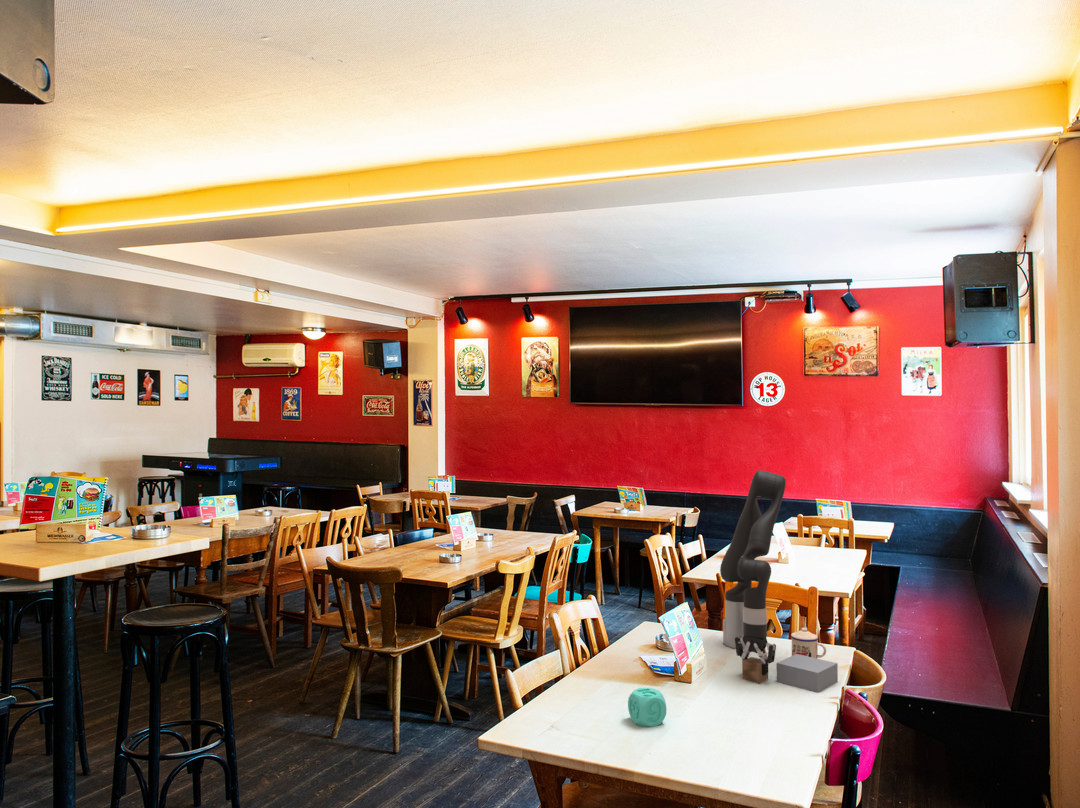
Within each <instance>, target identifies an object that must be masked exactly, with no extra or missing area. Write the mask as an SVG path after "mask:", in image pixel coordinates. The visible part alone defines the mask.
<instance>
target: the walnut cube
mask: <svg viewBox="0 0 1080 808" xmlns="http://www.w3.org/2000/svg"><path fill="white" fill-rule="evenodd" d="M741 663H742V664H741V667H742V668H741V670H742V671H741V672H742V673H741V676H742V677H741V678H742V679H741V680H744V681H748V682H752V683H756V684H762V683H763V682H766V681H767V680H769V672H768V673H767V675H765V676H764V675H762V664H763V663H762V661H761V658H757V657H754V656H750V657H748V658H747V659H745V660H743V661H741Z"/></svg>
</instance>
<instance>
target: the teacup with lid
mask: <svg viewBox="0 0 1080 808" xmlns="http://www.w3.org/2000/svg"><path fill="white" fill-rule="evenodd" d="M800 629H801V630H798V631H795V632H792V633H791V634H790V638H791V656H793V655H795V654H799V655H804V656H808V657H812V658H817V659H821V658H823V657H825V656H826V653H827V647H826V646H825V644H823V643H821V642H818V640H819V637H818V635H816V634H815V633H812V632H810V631H809V630H808V628H807V627H801V628H800ZM818 646H820V647H822V649H823V653H822V654H821V655H819V654H818Z"/></svg>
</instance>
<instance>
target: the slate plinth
mask: <svg viewBox="0 0 1080 808" xmlns="http://www.w3.org/2000/svg"><path fill="white" fill-rule="evenodd" d="M775 665H776V667H775V668H776V682H777V683H781V684H785V685H789V686H792V687H796V688H800V689H804V690H807V691H812V692H816V693H820V692H822V691H823V689H824V690H826V689H827V688H829V687H832V686H834V685H835V684H837V683H838V682H839V681H838V679H839V677H838V667H839V665H838V662H832V661H829V660H825V659H821V658H818V659H817V658H812V657H808V656H804V655H799V654H795V655H793V656H792V655H791V656H788V657H786V658H785V659H782V660H780V661H778V662H776V664H775ZM825 688H826V689H825ZM821 690H822V691H821ZM819 691H820V692H819Z"/></svg>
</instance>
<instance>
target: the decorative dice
mask: <svg viewBox="0 0 1080 808" xmlns="http://www.w3.org/2000/svg"><path fill="white" fill-rule="evenodd" d="M627 708H628V709H627V710H628V714H629V717H630V719H631V720H632V722H633V723H634V724H636V725H637V726H639V727H640V726H641V727H645V728H647V727H649V728H653V727H657V726H660V725H661V724H662V723H663V721H664V720H665V719H666V715H667V710H668V708H667V703H666V699H665V697H664V695H663V693H662V692H661V691H660V690H659V689H656V688H652V687H638V688H636V689H634V690H633V691H632V692H631V693H630V694H629V697H628V700H627Z"/></svg>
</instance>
